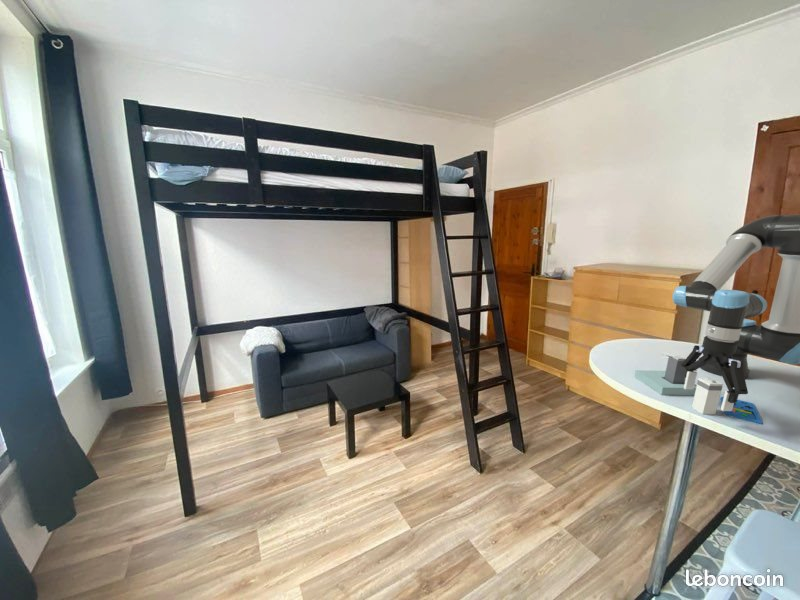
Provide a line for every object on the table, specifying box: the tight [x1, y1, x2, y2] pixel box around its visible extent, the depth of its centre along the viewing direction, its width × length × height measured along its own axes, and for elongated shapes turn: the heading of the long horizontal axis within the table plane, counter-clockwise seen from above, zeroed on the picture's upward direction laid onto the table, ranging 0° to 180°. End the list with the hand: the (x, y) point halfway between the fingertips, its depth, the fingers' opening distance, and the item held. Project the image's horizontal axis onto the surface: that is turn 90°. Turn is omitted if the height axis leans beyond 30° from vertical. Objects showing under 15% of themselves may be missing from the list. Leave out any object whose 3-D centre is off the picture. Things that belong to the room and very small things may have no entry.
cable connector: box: [691, 377, 723, 415], centre depth 102 cm, size 4×4×12 cm
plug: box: [664, 355, 686, 384], centre depth 117 cm, size 4×4×13 cm
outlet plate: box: [634, 369, 697, 396], centre depth 119 cm, size 14×14×3 cm
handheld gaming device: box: [719, 396, 763, 425], centre depth 104 cm, size 8×1×15 cm
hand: (706, 399), depth 102 cm, fingers open, 13 cm apart
